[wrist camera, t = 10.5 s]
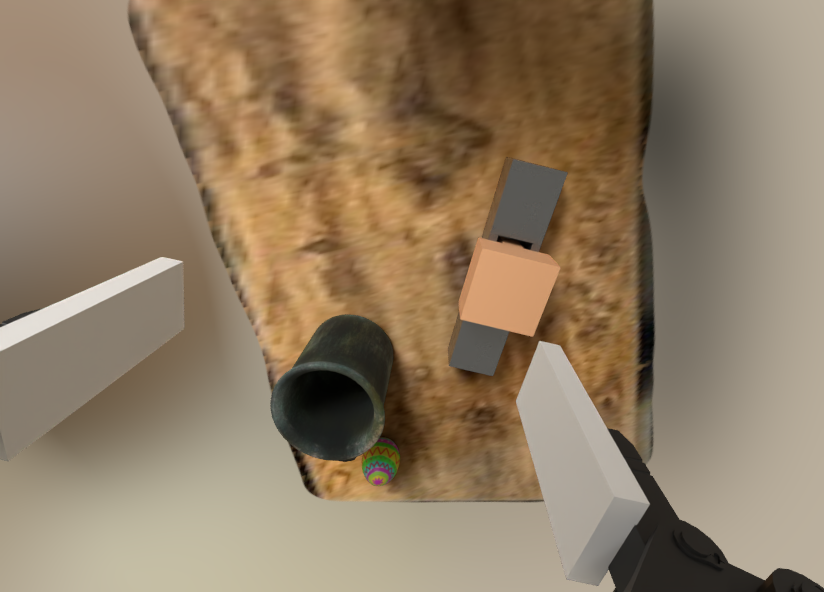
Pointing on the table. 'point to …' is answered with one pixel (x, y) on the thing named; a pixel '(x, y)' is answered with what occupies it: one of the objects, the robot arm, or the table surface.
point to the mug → (336, 390)
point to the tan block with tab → (507, 286)
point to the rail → (518, 220)
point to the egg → (381, 462)
